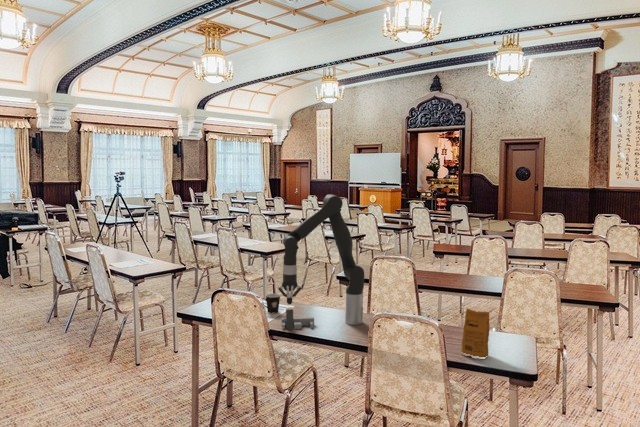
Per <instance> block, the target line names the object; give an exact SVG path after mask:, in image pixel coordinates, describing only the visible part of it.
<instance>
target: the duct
mask: <svg viewBox="0 0 640 427" xmlns="http://www.w3.org/2000/svg"><path fill="white" fill-rule="evenodd" d="M280 323H281V327H282V328H281V329H282V330H286V327H285V326H286V317H285V318H284V317H282V318H281V322H280ZM304 326H309V327H310V329H314V326H315V317H313V316H311V317H309V316H308V317H293V330H301V329H302V327H304Z"/></svg>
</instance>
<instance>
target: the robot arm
mask: <svg viewBox="0 0 640 427" xmlns="http://www.w3.org/2000/svg"><path fill="white" fill-rule="evenodd" d="M343 204H344V203H343V200H342V198H341V197H340V196H338V195H335V194H332V193H330V194H326V195H325V197H324V198H323V200H322V205H323V206H322V207H321V209H319V210H318V211H317V212H315V213H314V214H312V215H311V216H309V217H308V218H306V219H305V220H303V221H302V223H300V224H299V225H298V226H297V227H296V228H295V229H294V230H292V231H290V232H289V233H288V234H287V235H286V236H284V238H283V240H282V245H283V246H284V254H283V265H282V282H281V286H278V287H277V289H278V291H279V292H280V294H282V296H283V297H285V298H286V303H287V305H292V304H293V298H294V297H296V296H297V295H298V293H300V291H301V290H302V287H301V286H299V284H298V282H297V281H298V278H297V276H298V273H297V272H298V268H297V266H298V265H297V260H298V259H297V254H298V247H299V245H298V242H300V241H301V240H302V239H305V238H307V237H308V236H309V235H310V234H311V233H312V232H313V231H314V230H315V229H316V228H317V227H318V226H320V225H321V224H322V223H324V222H325V221H326V220H327V219H328V220H329V223H330V227H331V231H332V233H333V239H334V241H335V245H336V247H337V251H338V255H339V257H340V260H341V266H342V269H343V274H344V277H345V278H346V279H348V280H349V282H348V283H349V284H348V286H347V287H346V288H345V316H344V317H345V320H344V321H345V323H346V324H347V325H352V326H355V325H361V324H363V323H364V322H363V318H364V316H363V314H364V312H363V310H364V307H363V290H364V287H365V270H364V268H363V267H361V266H360V265H357V264H356V262H355V258H354V256H353V246H354V245H353V239H352V235H351V232H350V230H349V227H348V225H347V223H346V222H345V221H344V220H345V219H344V218H343V216H342V213H341V209H342V207H343ZM295 289H296V290H295ZM285 291H286V292H285Z"/></svg>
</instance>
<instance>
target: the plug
mask: <svg viewBox="0 0 640 427" xmlns="http://www.w3.org/2000/svg"><path fill="white" fill-rule="evenodd" d="M285 318H286V327H285V330H294V326H293V318H294V306H293V305H286V306H285Z"/></svg>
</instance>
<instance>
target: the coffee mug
mask: <svg viewBox="0 0 640 427" xmlns="http://www.w3.org/2000/svg"><path fill="white" fill-rule="evenodd" d="M261 299H262V300H265V302H266V305H264V306H265V308H266V309H267V313H268V314H278V312H279V308H280V300H281V294H278V293H269V294H266V295H265V298H264V297H263V298H261Z"/></svg>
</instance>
